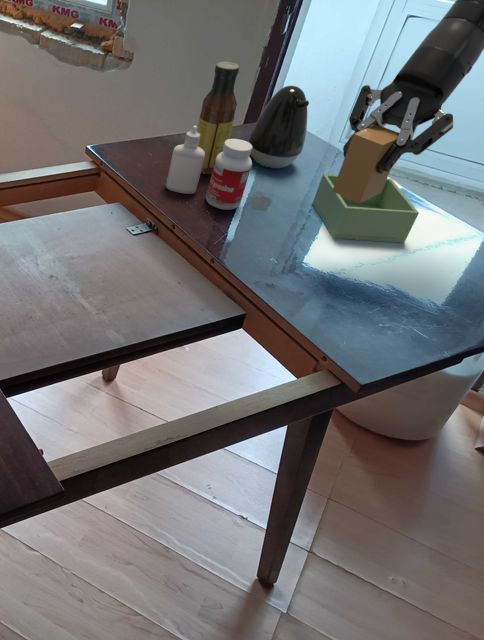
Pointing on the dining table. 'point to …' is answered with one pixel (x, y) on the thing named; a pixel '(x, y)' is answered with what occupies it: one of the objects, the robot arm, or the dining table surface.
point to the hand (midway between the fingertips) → (362, 163)
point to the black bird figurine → (280, 129)
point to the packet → (364, 164)
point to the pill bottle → (230, 175)
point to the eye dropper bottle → (186, 165)
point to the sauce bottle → (217, 114)
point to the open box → (365, 213)
